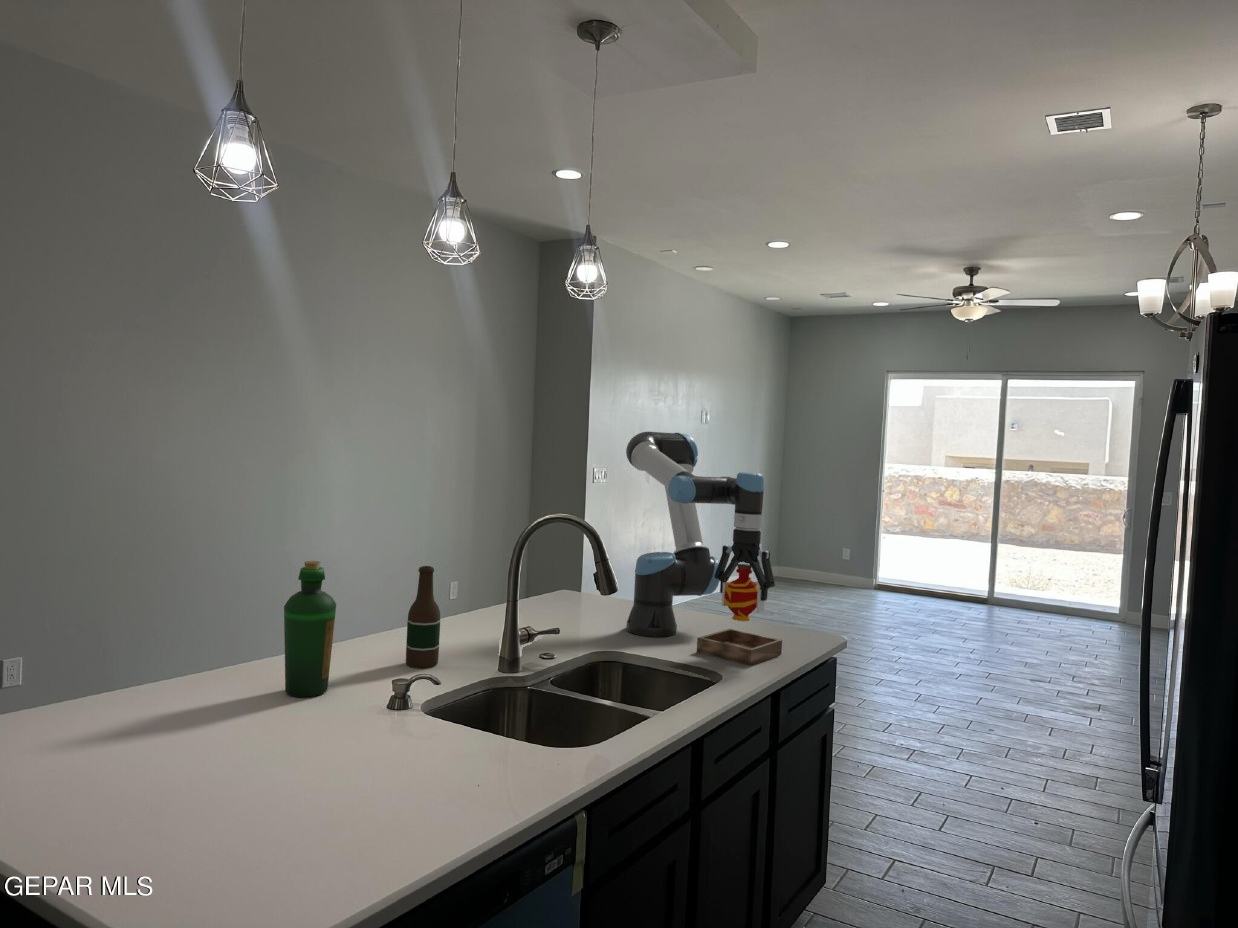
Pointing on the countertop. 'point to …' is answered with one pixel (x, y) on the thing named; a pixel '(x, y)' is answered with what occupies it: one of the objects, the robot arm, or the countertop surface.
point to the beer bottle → (423, 624)
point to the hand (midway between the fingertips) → (742, 608)
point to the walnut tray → (739, 646)
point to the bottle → (308, 634)
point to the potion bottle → (741, 594)
